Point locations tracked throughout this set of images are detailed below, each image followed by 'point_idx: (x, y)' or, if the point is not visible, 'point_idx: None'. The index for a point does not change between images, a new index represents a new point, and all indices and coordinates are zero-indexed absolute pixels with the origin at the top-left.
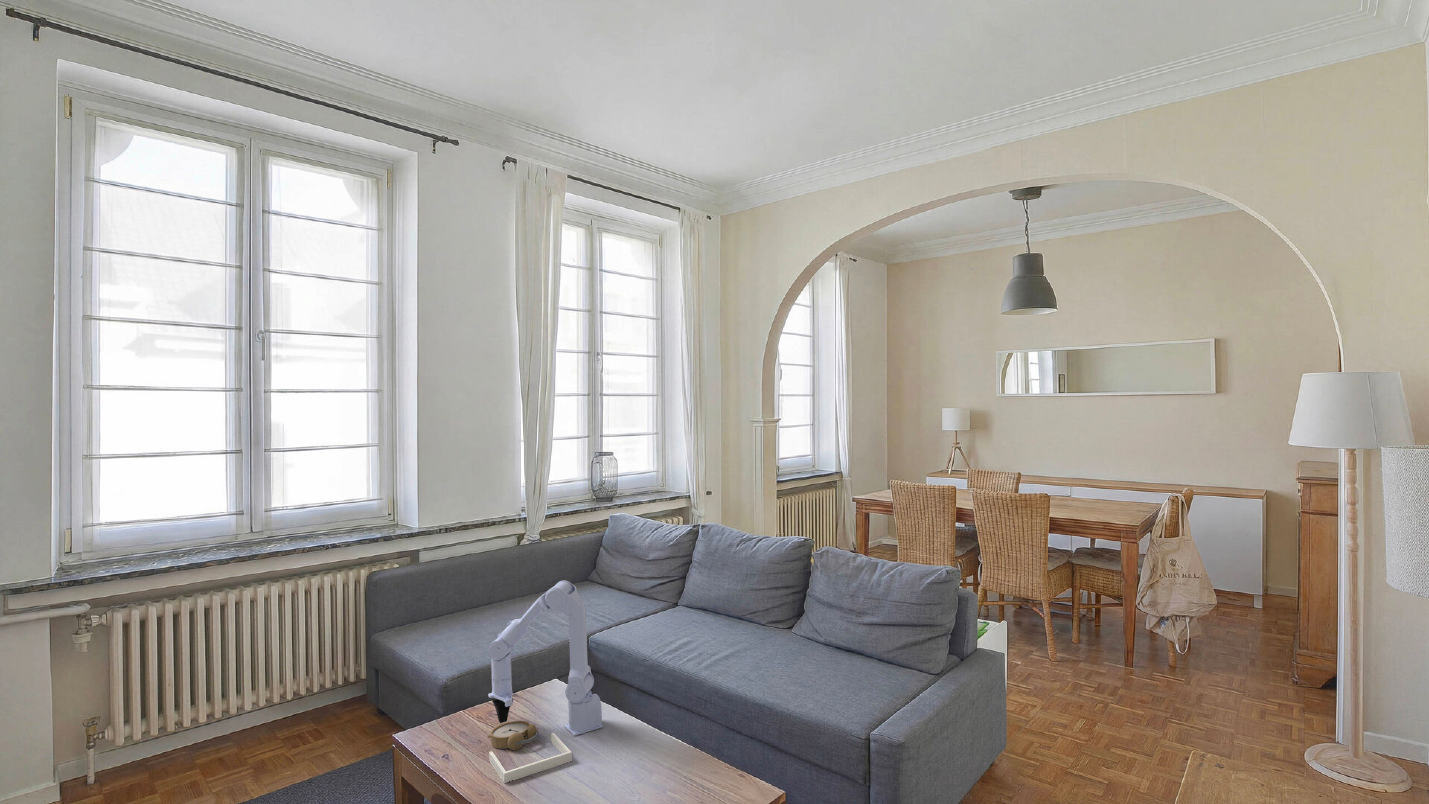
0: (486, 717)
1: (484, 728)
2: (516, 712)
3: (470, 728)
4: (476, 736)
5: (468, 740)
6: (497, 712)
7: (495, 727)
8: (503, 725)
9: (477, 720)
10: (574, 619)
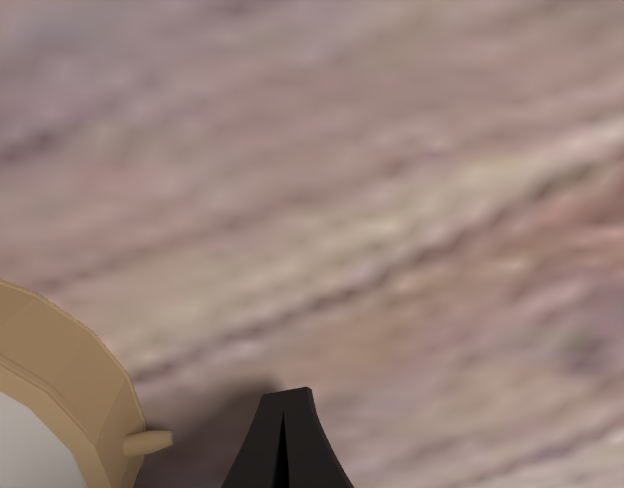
0: (585, 259)
1: (329, 221)
2: (507, 484)
3: (414, 64)
4: (154, 119)
5: (67, 6)
6: (270, 485)
7: (15, 377)
8: (81, 447)
9: (579, 164)
10: None
